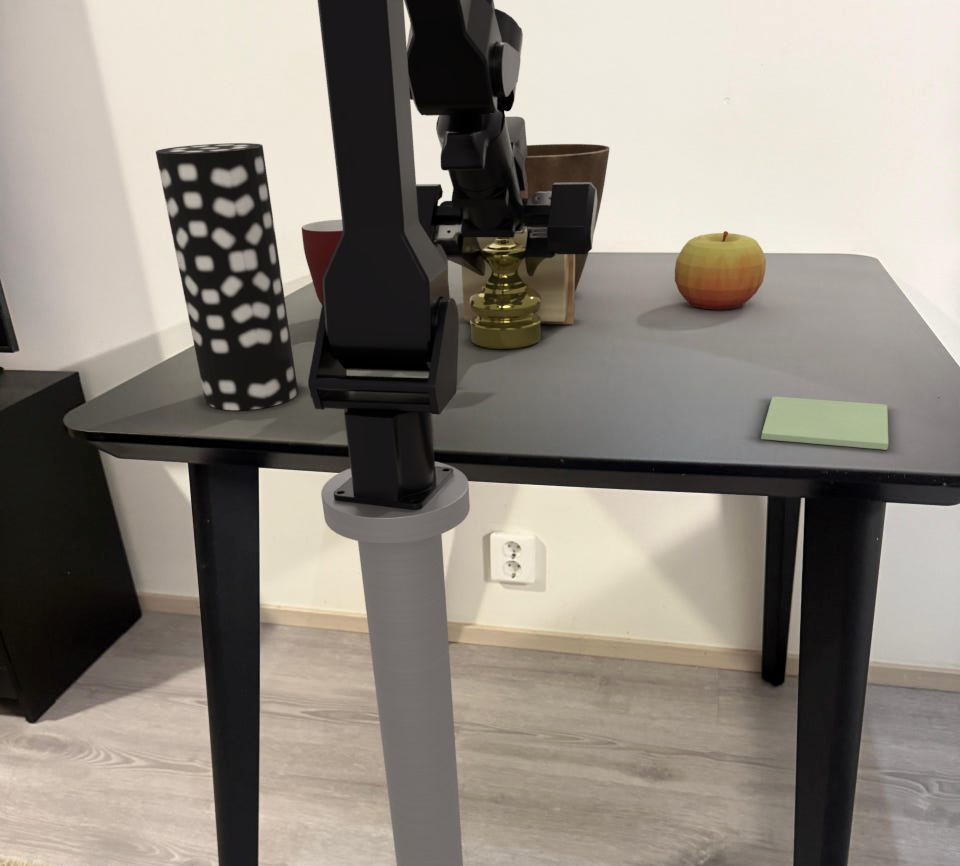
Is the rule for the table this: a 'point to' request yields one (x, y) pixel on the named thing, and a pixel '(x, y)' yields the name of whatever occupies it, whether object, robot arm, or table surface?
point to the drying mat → (827, 422)
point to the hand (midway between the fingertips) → (507, 271)
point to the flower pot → (567, 174)
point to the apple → (720, 270)
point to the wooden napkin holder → (533, 282)
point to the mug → (320, 249)
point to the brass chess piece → (505, 301)
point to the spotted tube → (230, 272)
